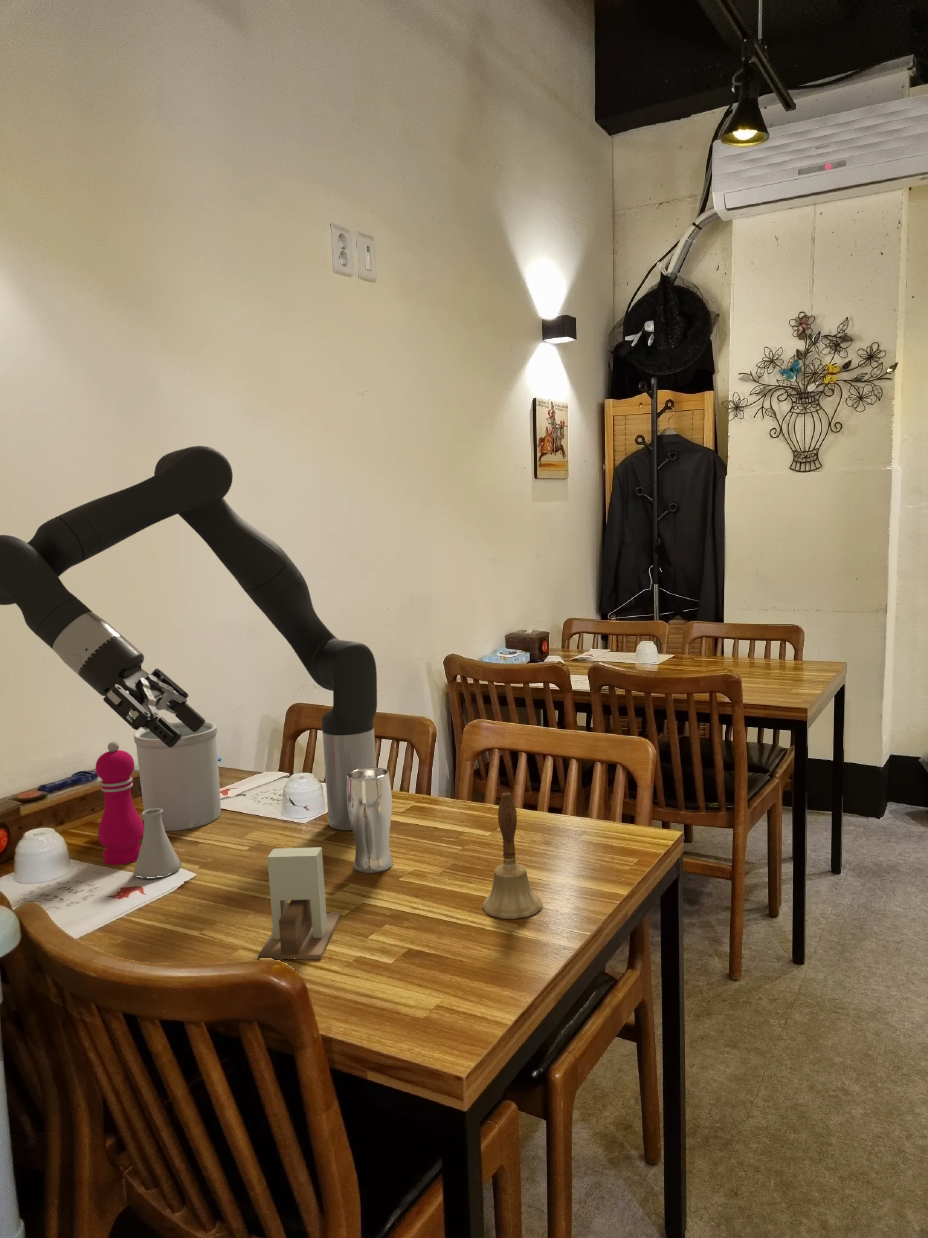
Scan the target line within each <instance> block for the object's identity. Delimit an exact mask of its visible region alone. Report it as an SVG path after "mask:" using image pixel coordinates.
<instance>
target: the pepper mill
mask: <svg viewBox="0 0 928 1238" xmlns="http://www.w3.org/2000/svg"><path fill="white" fill-rule="evenodd" d="M107 750H108V751H106V752H104V753H102V754H101V755H100V756H99V757H98V759H97V760H96V763H95V773H96V775H97V776H98V777H99V779H101V780H102V781H100V790H101V791H102V792H103V795H104V808H103V809H104V810H103V813H102V816H101V819H100V822H99V825H98V832H97V836H98V842H99V843H100V845H101V846H103V847H104V849H103V851H102V856H103V857H102V858H103V862H104V863H105V864H107V865H109V866H119V865H120V866H121V865H126V864H130V863H135V862H137V859H138V856H139V852H140V848H141V844H142V842H140V841H141V840H143V833H144V821H143V820H142V817H141V815H139V813H138V811H137V810H136V807H135V804H134V803H133V799H132V795H131V794H132V787H133V786H134V783H133V780H134V779H133V776H132V777H131V775H132V773H133V772H134V770H135V761H134V758H133V756H132V755H131V753H129V752H127V751H125V750H120V745H119V743H118V742H116V741H111V742H109V743H108V745H107Z"/></svg>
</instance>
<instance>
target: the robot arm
mask: <svg viewBox="0 0 928 1238" xmlns="http://www.w3.org/2000/svg"><path fill="white" fill-rule="evenodd" d="M233 476H234V475H233V469H232V466H231V464H230V462H229V460H228V458H227V457H226V456H225V455H224V454H223V452H221V451H220V450H217V449H216V448H213V447H210V446H203V445H195V446H189V447H186V448H182V449H177V450H173V451H171V452H169V453H167V454H164V455H162V457H160V458H159V459H158V461H157V463H156V464H155V467H154V475H153V476H151V477H149V478H146V479H144V480H143V481H141V482H137V483H136V484H133V485H131V486H129V487H126V488H124V489H121V490H118V491H115V492H113V493H110V494H107V495H104V496H101V497H99V498H96V499H92V500H91V501H88V502H86V503H84V504H80V505H79V506H77V507H73V508H72V509H70V510H68V511H66V512H63V513H61V514H59V515H57V516H55V517H53V518H50V519H48V520H47V521H45V522H44V523H42V524H41V525H40V526H38V528H37V530H36V531H35V534H34V535H33V536H32V538H31V539H30V540H29V541H28V542H26V541H24V540H22V539H21V538H19V537H16V536H12V535H8V534H0V606H11V605H14V604H15V605H16V606H17V608H19V610H20V611H21V613H22V616H23V619H24V621H25V624H26V625H27V627H28V628H29V629H30V630H31V631H32V632H33V634H35V635H36V636H37V638H39V639H41V641H43V642H44V644H46V645H47V646H48V647H49V648H50V649H52V650H53V651H54V653H55V654H57V655H58V656H59V658H60V659H61V660H62V662H63V663H64V664H65V665H67V666H68V667H69V668H70V669H71V670H72V671H73V672H75V674H77V675H78V676H79V677H80V678H81V679H82V680H83V681H84V682H86V683H87V684H88V685H89V686H90V687H91V688H92V689H93V690H94V691H95V692H97V693H98V694H99V695H100V696H102V697H103V698H102V699H103V702H104V703H105V704H107V705H108V706H109V707H110V708H111V709H112V710H113V711H114V712H115V713H116V714H117V715H118V716H119V717H120V718H122V720H123V721H124V722H125V723H127V724H128V725H129V726H130V727H131V728H132V729H133V730H135V731H138V730H140V729H142V728H143V729H144V730H148V729H149V730H150V731H151V732H152V733H153V734H154V735H155V736H157V737H158V738H159V739H160V740H161V741H162V742H163V743H164V744H166V745H167V746H168V747H173V746H174V745H175V744H176V743H177V742H178V741H179V740H180V739H181V737H182V735H181V733H180V732H179V731H178V730H177V729H175V728H174V727H173V726H172V725H171V724H170V723H169V722H170V721H167V720H166V718H164V717H163V716H161V715H160V713H159V711H163V710H164V711H166V712H169V713H171V714H173V715H174V717H176V718H177V719H178V721H181V722H182V723H184V724H185V725H186V726H187V727H188V728H189V729H190V730H191V731H193V732H197V731H198V730H199V729H200V728H201V727H202V726H203V725H204V723H205V721H206V719H205V718H204V717H203V716H201V714H199V712H197V711H196V710H195V709H194V708H192V707H191V706H190V705H189V704H188V698H189V693H188V692H187V691H185V690H184V689H183V688H182V687H180V685H179V684H178V683H176V682H175V681H173V680H172V679H171V678H170V677H169V676H167V674H165V673H164V672H163V671H162V670H161V669H160V668H155V669H153V670H152V671H151V673H149V672H147V671H145V670H144V669H143V668H142V665H143V663H144V660H145V656H144V653H142V652H141V651H140V650H139V649H138V648H137V647H135V645H133V644H132V643H131V642H130V641H129V639H127V638H125V637H124V636H123V635H122V634H121V633H120V632H119V631H118V630H116V629H115V628H114V627H113V626H112V625H111V624H110V623H109V622H108V621H106V620H105V619H103V618H102V617H100V616H98V615H97V614H96V613H95V612H93V611H92V610H91V609H90V608H89V607H88V606H86V604H85V603H83V602H82V601H81V600H80V599H79V598H78V597H76V595H74V594H73V593H72V592H71V591H69V590H68V588H66V586H65V584H64V583H63V582H62V580H61V579H60V578H59V577H61V576H62V575H63V574H64V573H65V572H66V571H67V570H69V569H70V568H72V567H74V566H76V565H79V564H81V563H84V562H85V561H87V560H90V559H91V558H93V557H94V556H96V555H98V554H100V553H102V552H104V551H106V550H108V549H109V548H111V547H114V546H115V545H117V544H118V543H120V542H122V541H125V540H126V539H128V538H130V537H131V536H134V535H136V534H137V533H139V532H142V531H143V530H145V529H146V528H149V527H150V526H153V525H155V524H158V523H159V522H161V521H163V520H165V519H169V518H171V517H174V516H176V515H178V516H179V517H180V518H181V519H182V520H183V521H185V523H187V525H188V526H190V527H191V529H192V530H193V531H194V532H195V533H196V534H197V535H199V537H200V538H201V539H202V540H203V541H204V543H206V544H207V546H208V547H209V548H210V549H211V551H212V552H213V553H214V554H215V556H216V557H217V559H219V561H220V563H222V564H223V566H224V567H225V568H226V569H227V571H228V572H229V573H230V574H231V575H232V576H233V577H234V579H235V581H237V583H238V584H239V586H240V587H241V589H242V590H243V591H244V592H245V593H246V595H247V596H248V597H249V599H250V600H252V602H253V603H254V605H256V606H257V608H258V609H259V610H260V611H261V612H262V613H263V614H264V616H266V617H267V619H268V620H269V621H270V622H271V624H272V626H274V627H275V629H276V630H277V631H278V632H279V633H280V634H281V635H282V637H284V639H285V640H286V641H287V643H288V644H289V645H290V646H291V648H292V650H293V651H294V653H295V654H296V656H297V657H298V659H299V661H300V662H301V663H302V665H303V666H304V668H305V670H306V671H307V673H308V674H309V675H310V677H311V679H312V680H313V681H314V683H316V685H318V686H320V688H322V689H324V690H327V691H331V692H333V694H332V695H333V696H332V698H333V699H332V702H333V705H332V709H331V710H330V711H329V712H326V713H324V715H323V716H322V717H321V731H322V744H323V757H324V758H323V760H324V774H325V775H324V776H325V787H326V788H325V789H326V805H327V820H328V826H329V827H330V828H332V829H335V830H339V831H353V830H352V826H351V822H350V818H349V813H348V806H347V774H348V773H349V772H351V771H353V770H357V769H362V768H378V767H377V755H376V742H375V741H376V740H375V739H376V737H375V728H374V727H375V725H374V720H375V717H376V713H377V709H378V683H377V682H378V674H377V663H376V659H375V655H374V654H373V652H372V650H371V649H370V647H368V645H366V644H364V643H362V642H357V641H350V640H343V639H342V640H341V639H339V638H337V637H336V636H335V634H333V633H332V632H331V630H329V628H327V626H326V625H325V624H324V622H323V621H322V620H321V619H320V617H319V616H318V615H317V613H316V611H315V608H314V605H313V602H312V597H311V594H310V590H309V586H308V584H307V581H306V579H305V577H304V576H303V574H302V573H301V571H300V569H298V567H297V565H295V563H294V561H292V559H291V558H290V557H289V556H288V554H287V553H286V552H285V551H284V550H283V549H282V547H281V546H280V545H279V544H278V543H276V542H275V541H274V540H273V539H272V538H270V537H269V536H267V535H266V534H264V533H263V532H262V531H260V530H258V529H257V528H256V527H254V526H253V525H252V524H250V523H249V522H248V521H246V520H245V519H244V518H242V517H241V516H240V515H239V514H238V513H236V511H234V510H233V508H232V507H231V506H230V505H229V502H227V501H226V499H225V497H226V496H227V495H228V492H230V490H231V487H232V484H233Z"/></svg>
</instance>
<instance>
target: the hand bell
mask: <svg viewBox="0 0 928 1238" xmlns="http://www.w3.org/2000/svg"><path fill="white" fill-rule="evenodd" d="M497 819H498V826H499V831H500V833H501V837H502V851H503V852H502V856H503V861H502V862H503V863H502V864H499V865H497V867H495V868H494V871H493V882H492V883H493V884H492V888H491V891H490V892H489V895H488V896H487V897H486V898H485V899H484V901H483V903H482V905H481V906H482V910H483V912H484V913H485V914H487V915H489V916H491V917H492V918H493V917H494V918H498V919H503V920H504V919H505V920H507V919H508V920H514V919H515V920H517V919H520V918H521V919H522V918H526V917H530V916H533V915H536V914H537V913H538V912H539V911H540V910H542V908H543V901H542V900H541V898H540V897H539V896H538V895H537V894H536V893H535V892H534V891H533V889H532V886H531V885H530V881H529V878H528V871H527V868H526V866H524V865H523V864H520V863H518V862H517V861H516V859H517V858H516V847H515V835H516V831H517V824H518V814H517V808H516V806H515V803H514V800H513V797H512V794H511V793H510V792H502V793H501V797H500V801H499V805H498V809H497Z"/></svg>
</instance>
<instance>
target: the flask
mask: <svg viewBox="0 0 928 1238" xmlns="http://www.w3.org/2000/svg"><path fill="white" fill-rule="evenodd" d="M162 813H163V809H159V808H155V809H148V810H145V811H144V810H143V811H142V812H141V813H140V817H141V818H143V825H144V833H143V837H142V839H141V840H142V841H141V848H140V852H139V856H138V859H137V860H136V861H135V862H136V864H135V866H134V870H133V874H132V877H134V876H141V877H143V878H147V877H157V876H165V875H168V874H169V873H172V874H174V873H177V872H179V870H180V868H181V866H182V862H181V860H180V858H179V856H178V855H177V853H176V851H175V849H174V847H173V845H172V843H171V840H170V839H169V837H168V835H167V833H166V831H165V830H164V826H163V823H162ZM176 871H177V872H176ZM173 872H174V873H173ZM168 876H169V875H168ZM143 878H142V879H143Z"/></svg>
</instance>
